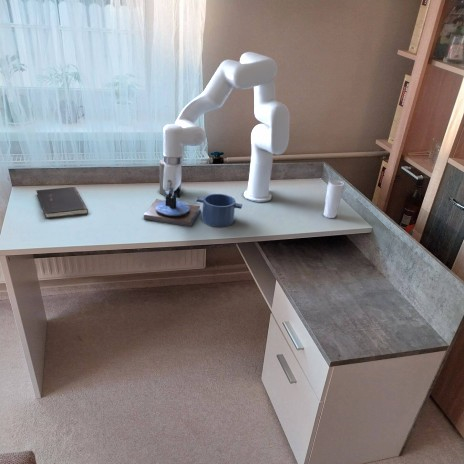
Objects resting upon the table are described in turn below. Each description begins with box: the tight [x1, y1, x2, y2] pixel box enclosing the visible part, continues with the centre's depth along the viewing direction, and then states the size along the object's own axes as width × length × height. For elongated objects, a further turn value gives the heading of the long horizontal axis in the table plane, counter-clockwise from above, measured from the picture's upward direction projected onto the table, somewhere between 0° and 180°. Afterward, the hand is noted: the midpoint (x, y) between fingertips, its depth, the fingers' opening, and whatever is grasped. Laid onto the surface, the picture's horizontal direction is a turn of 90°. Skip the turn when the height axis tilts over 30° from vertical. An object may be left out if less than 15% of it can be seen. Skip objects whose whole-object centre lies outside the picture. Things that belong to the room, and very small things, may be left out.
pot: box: [195, 193, 243, 228], centre depth 194 cm, size 13×18×8 cm
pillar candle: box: [159, 158, 183, 196], centre depth 210 cm, size 10×10×15 cm
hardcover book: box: [35, 186, 89, 220], centre depth 195 cm, size 16×23×2 cm
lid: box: [156, 193, 190, 216], centre depth 193 cm, size 14×14×7 cm
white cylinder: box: [323, 179, 345, 219], centre depth 204 cm, size 7×7×15 cm
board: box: [143, 198, 201, 227], centre depth 196 cm, size 16×19×2 cm
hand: (172, 201), depth 193 cm, fingers open, 8 cm apart
